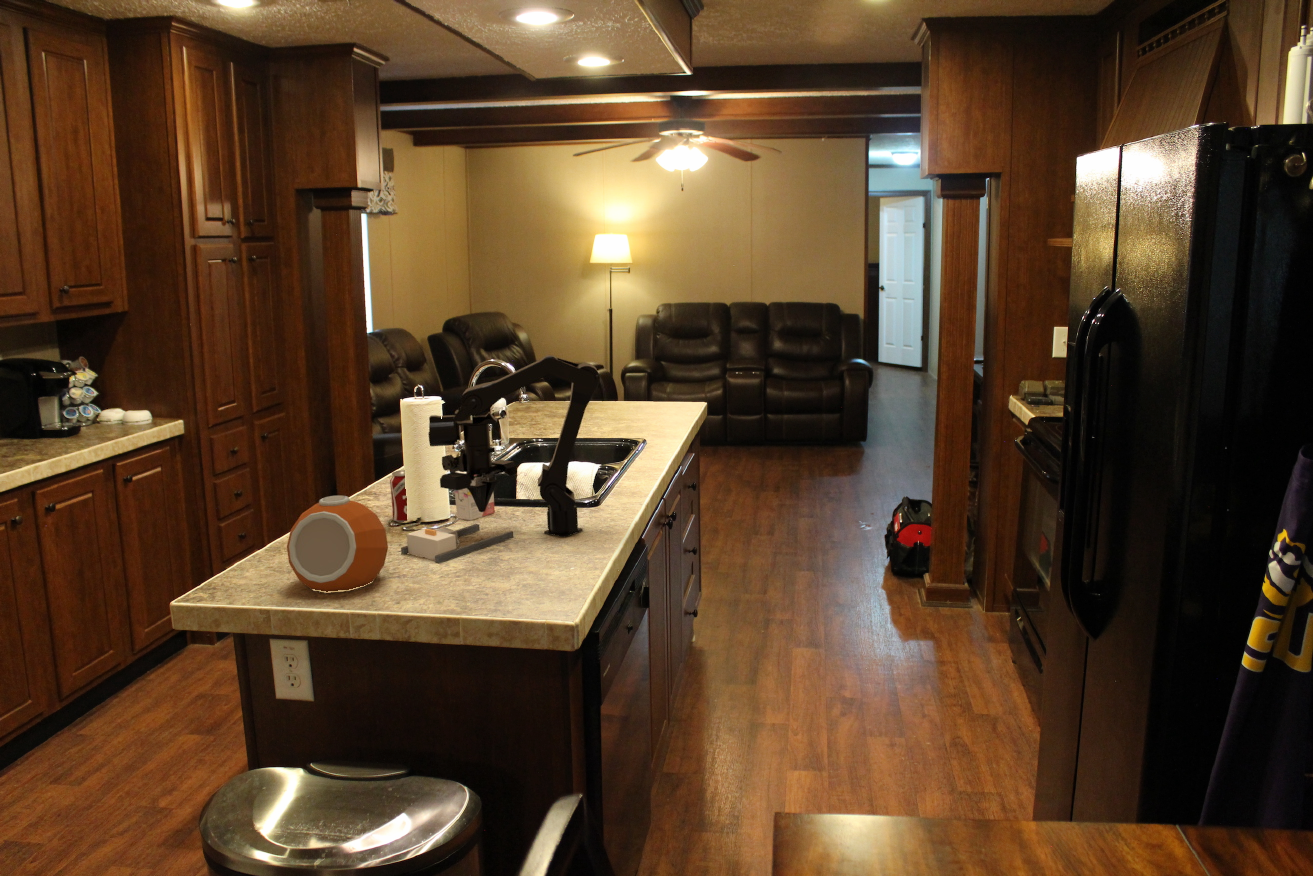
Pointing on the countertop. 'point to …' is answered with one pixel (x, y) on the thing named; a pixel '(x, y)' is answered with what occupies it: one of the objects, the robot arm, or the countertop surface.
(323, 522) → the alarm clock
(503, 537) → the gray rail frame
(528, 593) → the countertop surface
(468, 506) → the ink cartridge box
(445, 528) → the usb wall charger
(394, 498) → the soda can
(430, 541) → the block
